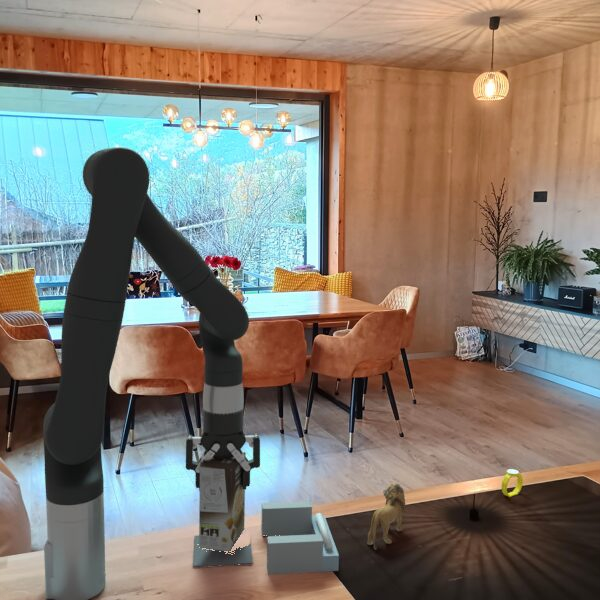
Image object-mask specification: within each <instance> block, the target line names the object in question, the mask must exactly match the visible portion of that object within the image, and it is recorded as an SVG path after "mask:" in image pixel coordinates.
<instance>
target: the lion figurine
mask: <svg viewBox="0 0 600 600" xmlns="http://www.w3.org/2000/svg"><path fill="white" fill-rule="evenodd" d="M382 492H383V496H384V497H385V499H386V500H385V506H384V507H383V508H378V509H376V510H375V511H374V513H373V515H372V517H371V522H370V528H369V532H368V533H367V542H366V543H367V545H369V546H371V545H373V549H374V550H375V551H376V550H377V548H378V544H377V540H376V538H377V537H376V532H377V531H376V530H377V527H378V525H379V526H380V528H381V530H382V533H383V535H382V539H383V540H384V542H385V543H386V544H388V545H391V544H392V543H393V541H392V539H390V538H388V535H389V534H388V533H389V530H390V528H391V524H392V523H394V522H395V521H396V526H395V529H396V531H397V532H402V531H403V528H402V527H401V525H402V521H403V514H404V512H405V509H406V499H405V491H404V489H403V486H401V485H400V483H396V482H391V483H390V485H388V486H387V488H386V489H384V490H383V491H382Z"/></svg>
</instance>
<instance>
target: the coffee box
mask: <svg viewBox="0 0 600 600" xmlns="http://www.w3.org/2000/svg"><path fill="white" fill-rule="evenodd" d="M243 453H244V455H245V456H246V452H245V451H243ZM245 499H246V490H243V488H242V466H241V464H240V463H238V461H237V460H236V458H235V457H233V458H232V459H224V458H222V459H217V460H215V458H211V460H210V461H209V463H204V462H203V463H202V464H201V465H200V491H199V510H198V511H199V512H198V513H199V517H198V518H199V520H198V521H199V525H198V529H199V530H198V532H199V533H198V535H199V547H200V548H206V549H213V550H221V551H228V552H229V551H231V549H232V547H233V546H234V544H235V543H236V541H237V540H238V538H239V537H240V535H241V534H243V532H244V530H245V517H246V515H245V511H246V510H245V509H246V508H245V504H246V503H245V502H246V500H245Z"/></svg>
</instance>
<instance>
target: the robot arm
mask: <svg viewBox="0 0 600 600" xmlns="http://www.w3.org/2000/svg"><path fill="white" fill-rule="evenodd" d="M82 180H83V181H82V182H83V184H84V186H85V189H86V191H87V192H88V193H89V195H90V196H91V207H90V215H89V216H90V217H89V224H88V228H87V232H86V237H85V240H84V242H83V245H82V248H81V249H80V252H79V254H78V257H77V259H76V261H75V264H74V267H73V268H72V271H71V275H70V279H69V281H68V285H67V291H66V297H65V303H64V308H63V313H62V314H63V315H62V323H61V324H62V326H61V344H60V345H61V348H60V350H61V354H60V355H61V357H60V359H61V362H60V364H61V366H60V367H61V369H60V379H59V385H58V389H57V392H56V397H55V402H54V403H53V404H52V405H51V406H50V407H49V408H48V410H47V411H46V414H45V416H44V419H43V427H42V428H43V430H42V432H43V456H44V457H43V458H44V482H45V483H44V485H45V486H44V487H45V504H46V507H45V508H46V531H47V532H46V534H47V535H46V537H47V540H46V541H45V543H44V545H43V552H44V553H43V556H44V558H43V559H44V584H45V586H44V587H45V588H44V589H45V599H46V600H49V599H50V600H89V599H92V598H94V597H96V596H98V595H99V594H100V593H102V592H103V590H104V589H105V586H106V576H107V575H106V545H105V544H106V542H105V541H106V539H105V538H106V537H105V506H104V505H105V499H104V498H105V497H104V496H105V495H104V491H105V490H104V486H105V483H104V471H103V470H104V469H103V459H102V443H103V440H104V436H105V415H106V402H107V391H108V385H109V384H108V383H109V377H110V374H111V370H112V365H113V362H114V360H115V359H114V358H115V355H116V350H117V346H118V341H119V336H120V333H121V329H122V324H123V319H124V312H125V308H126V301H127V294H128V293H127V292H128V286H129V280H130V273H131V268H132V267H131V266H132V258H133V251H134V250H133V249H134V243H135V239H136V240H137V241H138V242H139V244H140V245H141V246H142V247H143V249H144V250H145V251H146V252H147V254H148V255H149V256H150V258H151V259H152V261H153V262H154V263H155V264H156V266H157V267H158V268H159V269H160V271H161V272H162V274H163V275H164V276H165V277H166V278H167V280H168V281H169V282H170V284H171V285H172V286H173V288H174V289H175V290H176V292H177V293H178V294H179V295H180V297H182V298H183V300H184V301H186V302H188V304H190V305H192V306H194V307H195V308H196V310H197V311H198V312H199V317H198V331H199V337H200V342H201V343H200V344H201V348H202V351H203V356H204V373H203V374H204V375H203V376H204V377H203V379H204V385H203V391H202V405H203V406H202V434H201V435H200V436H193V435H192V434H188V435H187V436H186V441H185V469H186V470H188V471H190V470H191V471H193V472H194V474H195V488H196V489H198V490H199V491H198V492H200V465H201V464H202V463H203V462H204V463H209V461H210V460H211V458H215V460H217V459H222V458H224V459H232V458H233V457H235V458H236V460H237V461H238V463H240V464H241V466H242V488H243V490H245V491H246V490H247V487H250V484H251V470H253V469H255V468H256V469H258V468H260V467H261V439H260V434H259V433H257V432H256V433H253V434H252V435H246V434H245V433H244V404H245V403H244V402H245V399H244V398H245V397H244V387H243V385H244V384H243V375H244V373H243V366H244V363H243V357H242V355H241V353H240V351H238V349H237V348H236V345H235V344H236V343H235V341H237V340H240V339H241V338H243V337H244V336H245V334H246V333H247V332H248V329H249V325H250V319H249V314H248V311H247V309H246V308H245V307H244V305H243V303H242V301H240V300H239V299H238V298H237V296H235V294H234V293H233V292H232V291H231V290H230V289H229V288H228V287H227V286H226V285H225V284H224V283H222V282H221V280H219V279H218V278H217V276H216V275H215V273H214V272H213V270H212V269H211V267H210V266H209V265H208V263H207V262H206V261H205V259H204V257H202V255H201V254H200V253H199V251H198V250H197V249H196V248H195V246H194V245H193V244H192V243H191V242H190V241H189V240H188V239H187V237H185V236H184V235H183V234H182V233H181V232H180V231H179V230H178V229H177V228H176V227H175V226H174V225H173V224H172V223H171V222H170V221H169V220H168V219H167V217H165V216H164V215H163V213H162V212H161V211H160V209H158V208H157V206H156V205H155V203H154V202H153V201H152V199H151V197H150V196H149V195H148V192H149V191H148V190H149V188H150V187H149V186H150V171H149V167H148V165H147V163H146V161H145V159H144V158H143V156H141V154H139V152H137V151H136V150H134V149H131V148H128V147H125V146H117V147H116V146H115V147H110V148H109V147H108V148H103V149H100V150H97V151H96V152H94V153H92V154H91V155H90V156H89V157H88V158H87V160H86V161H85V162H84V165H83V169H82ZM246 443H247V444H248V446H249V447H250V448H252V459H248V457H247V456H246V455H244V453H243V452H244V451H243V450H242V449H243V447H244V446H245V444H246ZM199 444H200V445H201V446H202V447H203V449H204V451H203V452H202V454H201V456H200V457H199V459H198V460H197V461H194V460H193V459H194V450H195V449H197V447H198V445H199Z"/></svg>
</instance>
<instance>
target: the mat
mask: <svg viewBox="0 0 600 600" xmlns="http://www.w3.org/2000/svg"><path fill="white" fill-rule="evenodd" d="M193 541H194V543H193V556H192V558H193V559H192V568H193V567H197V568H209V567H208V566H217V567H220V566H219V565H237V566H239V565H238V564H243V565H242V566H246V565H245V564H253V565H254V561H253V552H252V551H253V550H252V544H251V545H250V544H249V545H248V546H245V547H243V548H240V547H239V548H238V549H237V548H236V550H234V551H235V552H234V551H232V552H234V553H235V554H234V553H231V552H228V553H231V554H233V555H231V554H228V553H227V554H225V553H226V552H224V551H221V550H215V551H212V550H210V549H209V550H206V549H203V550H202V548H199V545H197V544H199V534H197V535H194V540H193ZM194 544H195V545H194ZM240 549H241V550H240ZM206 551H207V552H206ZM219 551H221V552H219ZM204 566H206V567H204Z"/></svg>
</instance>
